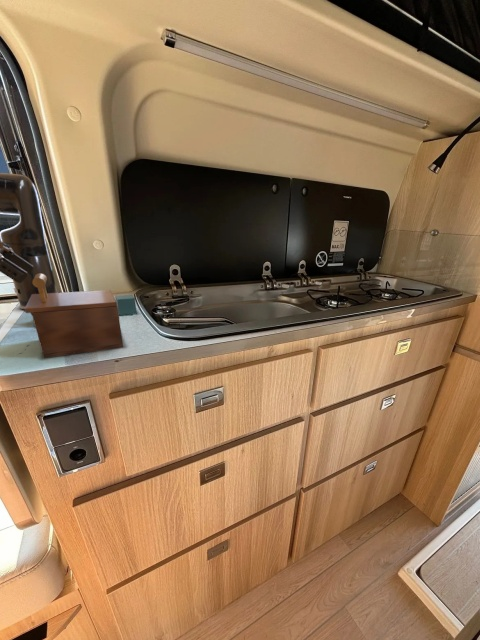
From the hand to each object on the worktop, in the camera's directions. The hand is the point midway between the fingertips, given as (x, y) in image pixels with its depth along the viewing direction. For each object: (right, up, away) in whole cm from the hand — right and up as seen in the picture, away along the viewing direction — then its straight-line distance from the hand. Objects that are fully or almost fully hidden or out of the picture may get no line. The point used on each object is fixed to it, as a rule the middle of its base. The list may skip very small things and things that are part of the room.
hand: (28, 274), depth 53 cm
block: (+4, -3, +30) cm, 30 cm away
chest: (+5, -12, +9) cm, 16 cm away
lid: (+5, -4, +5) cm, 8 cm away
